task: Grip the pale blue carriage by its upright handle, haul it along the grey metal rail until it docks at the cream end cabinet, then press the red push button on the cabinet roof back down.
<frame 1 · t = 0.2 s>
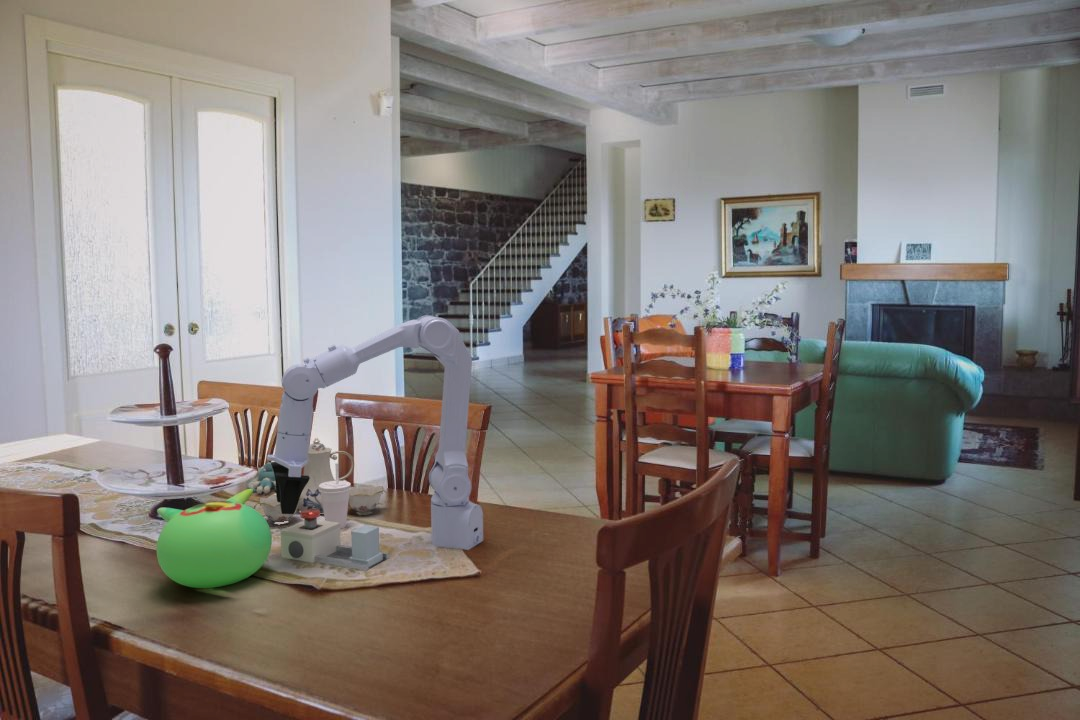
hand: (285, 507, 149), 11 cm above the table, tool pointing down, fingers open, 7 cm apart
green rounded blob: (216, 584, 142), on the table
smoothie: (336, 532, 170), on the table
red push button: (310, 524, 153), point 6 cm above the table, slide at 1.5 cm
end cabinet: (311, 558, 154), on the table
chinaware: (320, 514, 182), on the table
stuffed animal: (269, 491, 202), on the table
carriage: (365, 545, 148), point 4 cm above the table, slide at 0.0 cm
rail: (352, 565, 150), on the table
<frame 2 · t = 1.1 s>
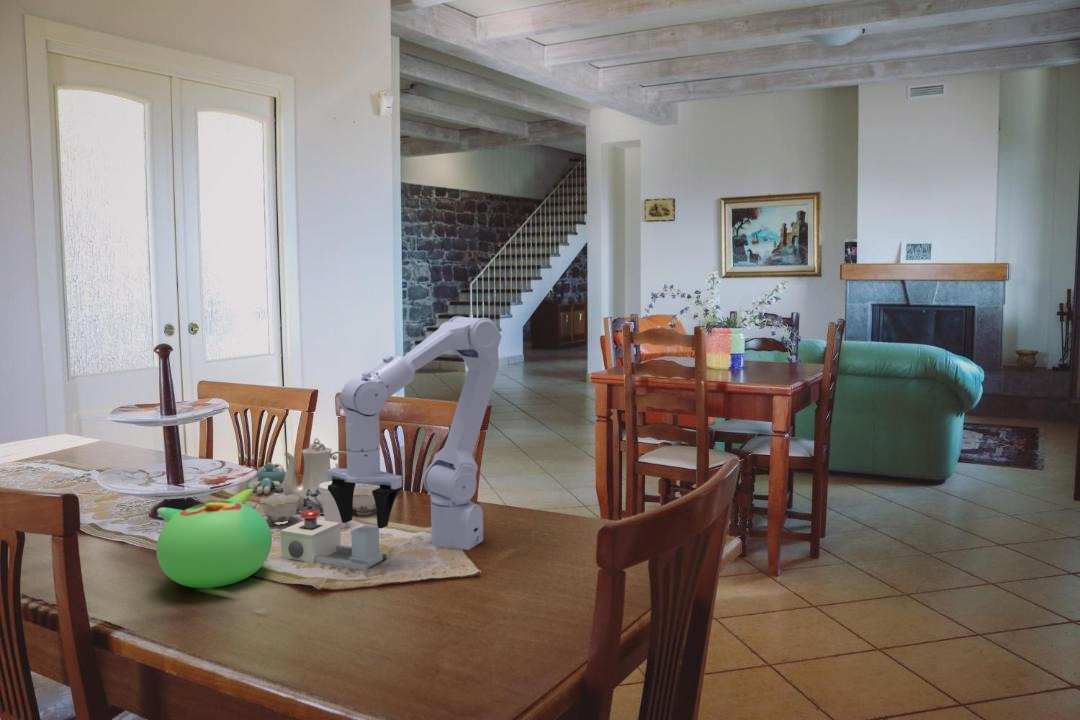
hand: (364, 524, 148), 8 cm above the table, tool pointing down, fingers open, 7 cm apart
nothing on the table moved.
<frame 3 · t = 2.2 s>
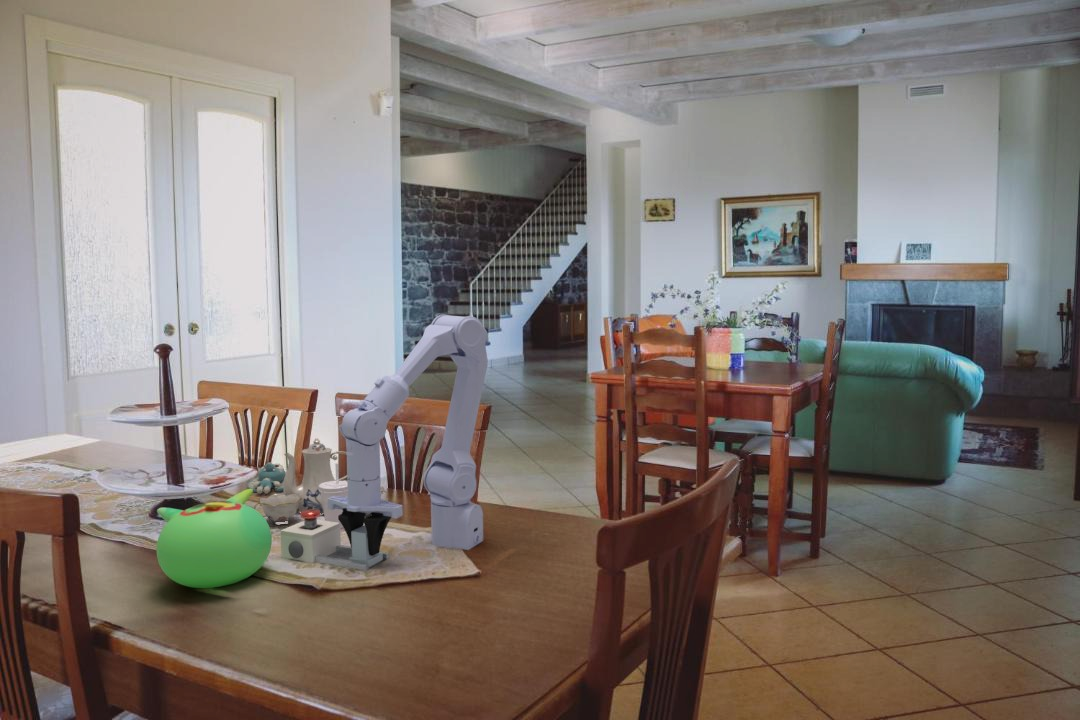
hand: (365, 552, 149), 3 cm above the table, tool pointing down, fingers closed on carriage, 3 cm apart
carriage: (365, 545, 148), point 4 cm above the table, slide at 0.0 cm, touching gripper
everything else where it was.
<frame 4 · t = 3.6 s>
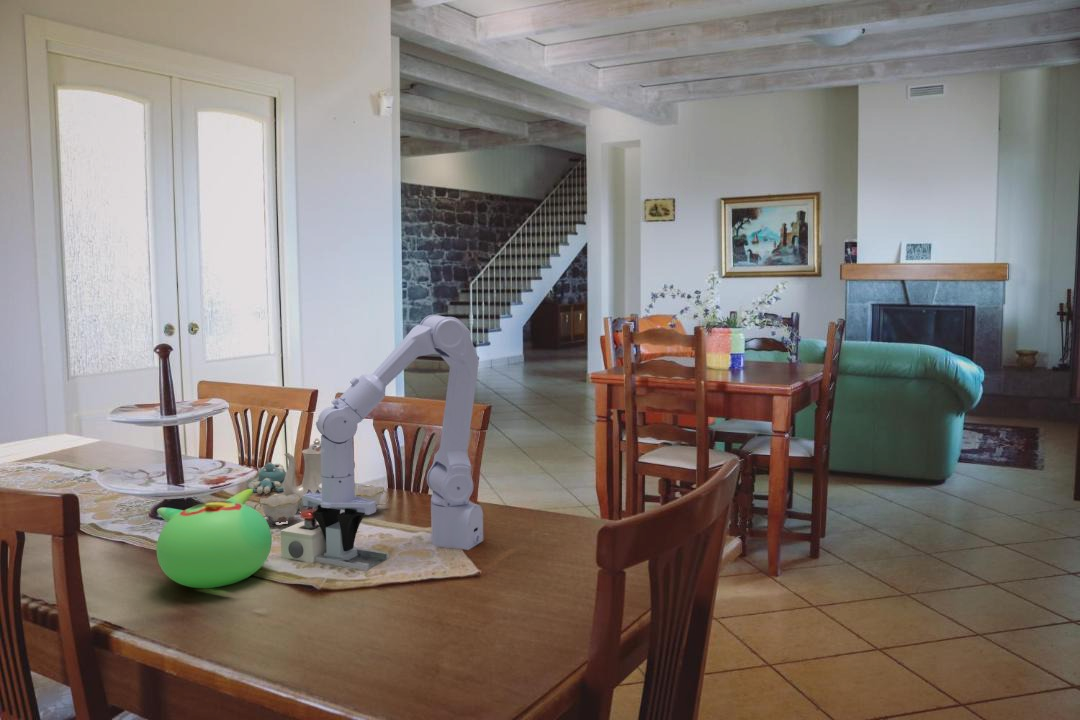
hand: (340, 548, 151), 3 cm above the table, tool pointing down, fingers closed on carriage, 3 cm apart
carriage: (340, 541, 151), point 4 cm above the table, slide at 5.5 cm, touching gripper
everything else where it was.
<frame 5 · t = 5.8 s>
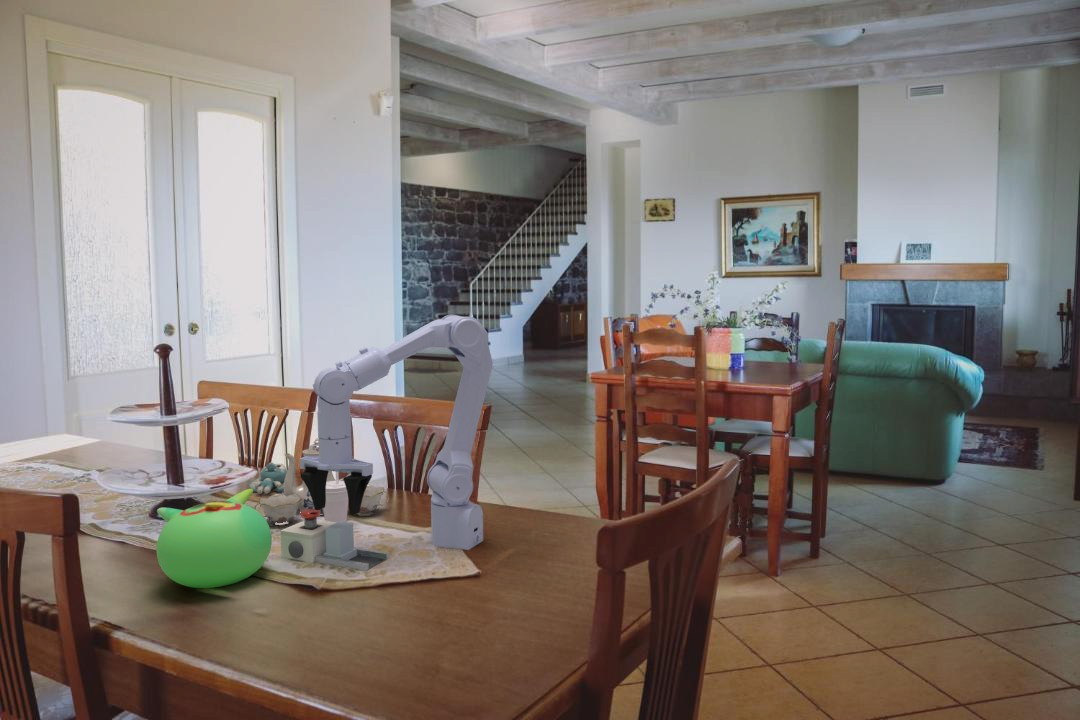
hand: (337, 511, 150), 10 cm above the table, tool pointing down, fingers open, 7 cm apart
carriage: (339, 541, 151), point 4 cm above the table, slide at 5.6 cm
everything else where it was.
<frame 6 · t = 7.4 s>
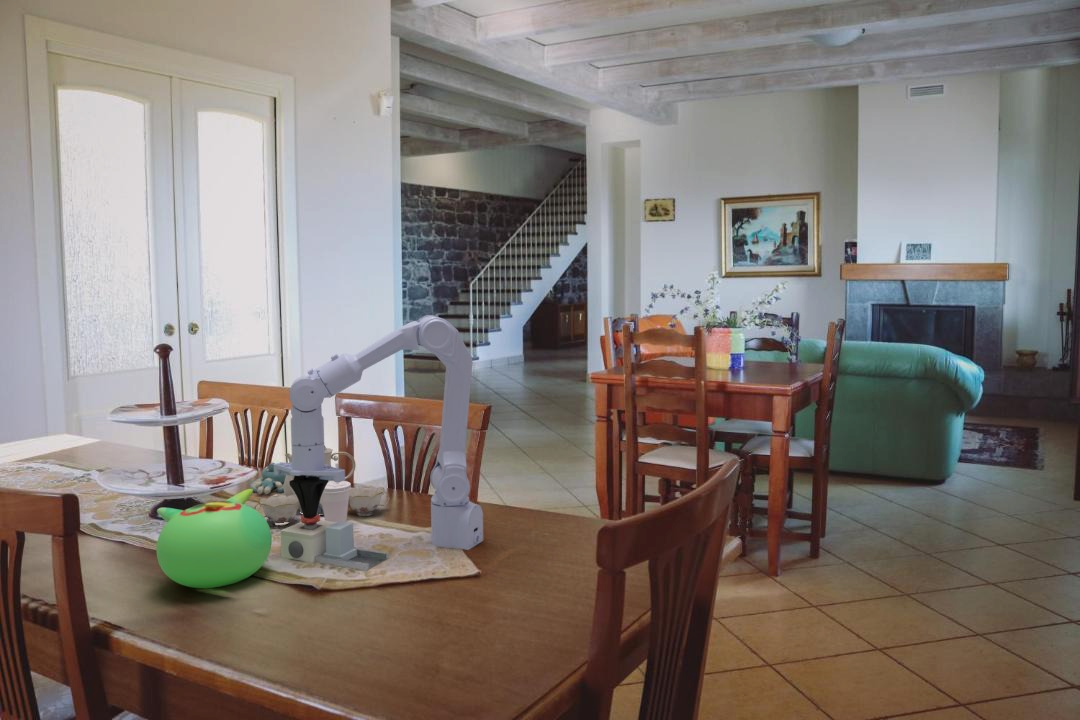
hand: (310, 516, 153), 8 cm above the table, tool pointing down, fingers closed, pressing on red push button
red push button: (310, 529, 153), point 6 cm above the table, slide at 0.6 cm, touching gripper
everything else where it was.
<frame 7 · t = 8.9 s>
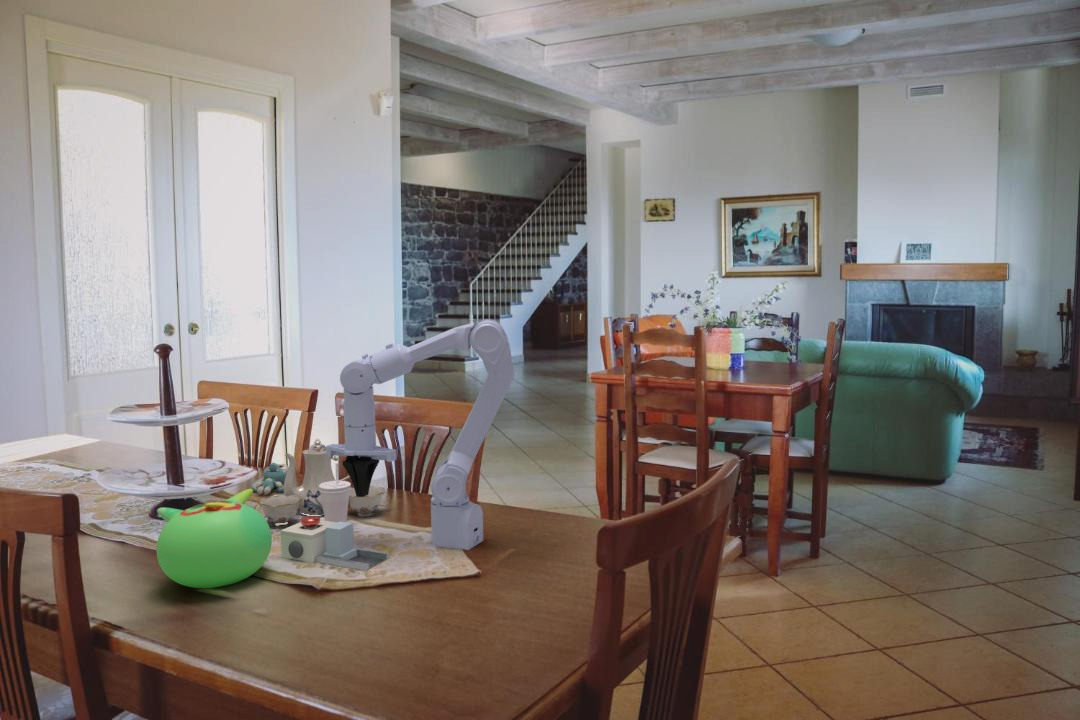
hand: (362, 495, 158), 10 cm above the table, tool pointing down, fingers closed
red push button: (310, 531, 153), point 5 cm above the table, slide at 0.3 cm
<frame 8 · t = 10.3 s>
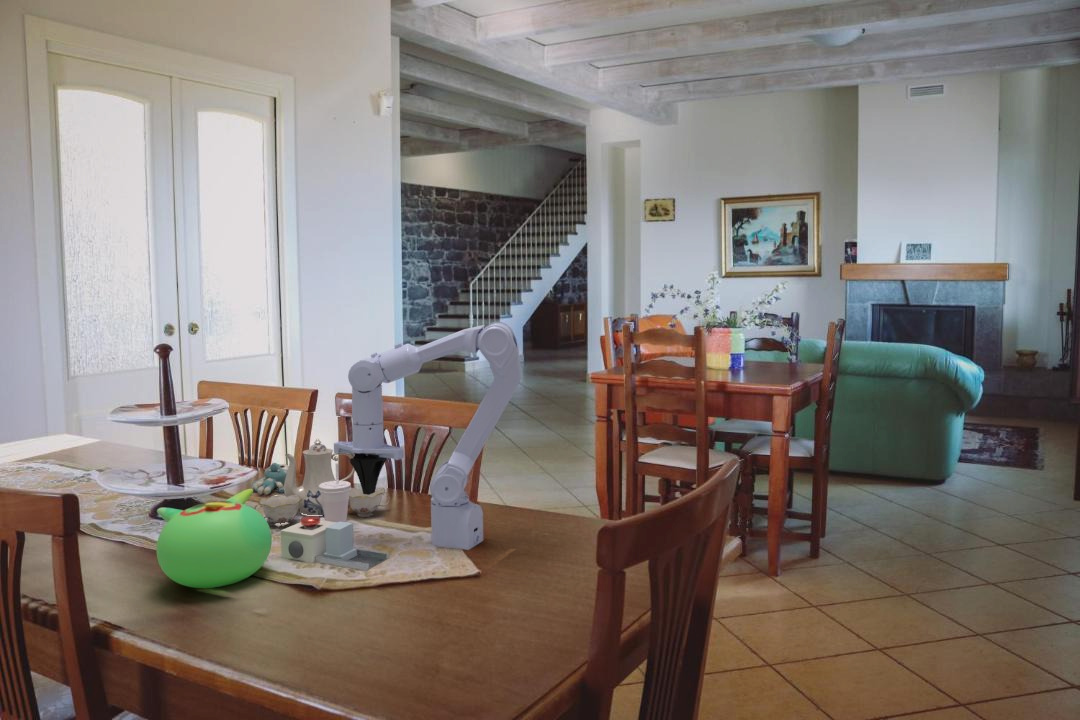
hand: (369, 493, 159), 10 cm above the table, tool pointing down, fingers closed
at the end: carriage slide at 5.6 cm; red push button slide at 0.3 cm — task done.
